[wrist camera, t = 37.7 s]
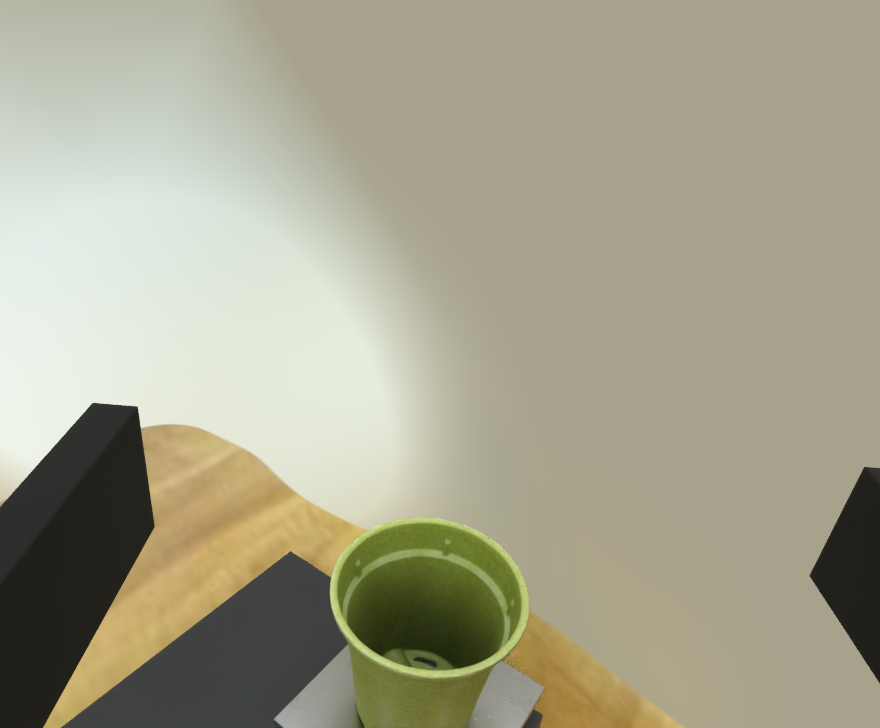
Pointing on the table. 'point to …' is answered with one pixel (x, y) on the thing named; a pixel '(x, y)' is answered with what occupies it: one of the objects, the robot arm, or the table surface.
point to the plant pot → (425, 619)
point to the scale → (235, 660)
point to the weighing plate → (332, 691)
